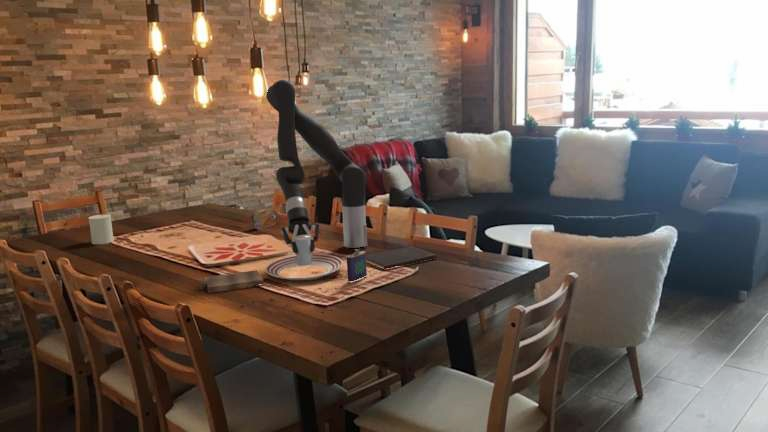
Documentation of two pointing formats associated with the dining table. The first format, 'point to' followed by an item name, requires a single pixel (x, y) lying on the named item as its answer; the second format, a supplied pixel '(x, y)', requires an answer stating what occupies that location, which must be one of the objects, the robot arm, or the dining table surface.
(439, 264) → the dining table surface
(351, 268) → the flask
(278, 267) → the dinner plate
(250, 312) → the dining table surface
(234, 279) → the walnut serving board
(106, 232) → the can
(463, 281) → the dining table surface
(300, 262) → the stoneware cup
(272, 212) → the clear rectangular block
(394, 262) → the hardcover book
